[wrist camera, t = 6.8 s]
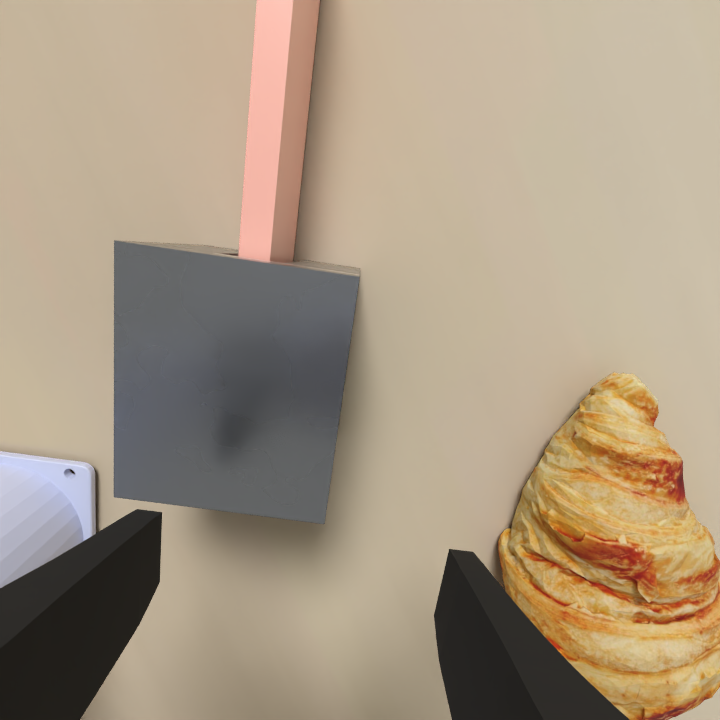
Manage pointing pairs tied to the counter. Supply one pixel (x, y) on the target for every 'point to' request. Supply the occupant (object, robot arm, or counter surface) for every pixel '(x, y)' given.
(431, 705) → the counter surface
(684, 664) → the croissant
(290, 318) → the grey cube
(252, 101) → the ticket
